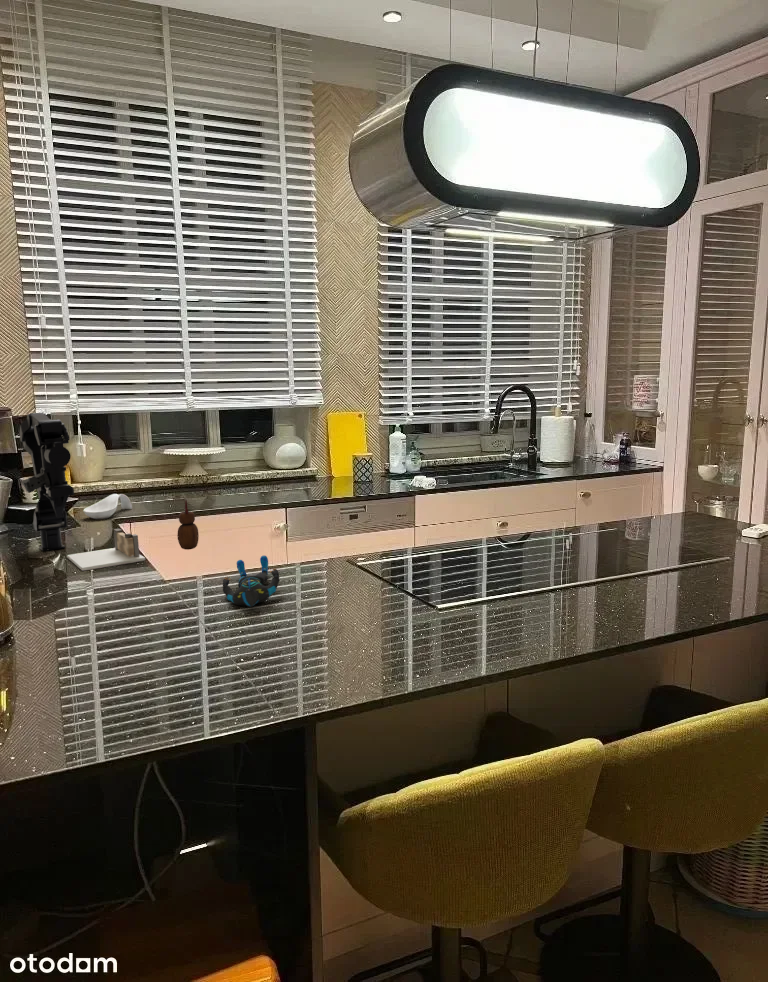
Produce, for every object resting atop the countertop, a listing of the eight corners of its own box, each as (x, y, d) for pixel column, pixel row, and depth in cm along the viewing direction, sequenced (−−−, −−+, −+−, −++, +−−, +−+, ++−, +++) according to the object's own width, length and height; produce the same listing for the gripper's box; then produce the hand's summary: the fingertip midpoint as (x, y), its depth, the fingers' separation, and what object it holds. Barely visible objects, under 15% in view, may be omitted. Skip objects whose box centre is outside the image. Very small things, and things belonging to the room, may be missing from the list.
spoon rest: (106, 521, 275) (104, 501, 274) (77, 520, 277) (75, 501, 276) (140, 509, 297) (138, 491, 296) (113, 509, 300) (111, 491, 299)
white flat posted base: (67, 557, 219) (64, 534, 218) (126, 548, 229) (124, 526, 227) (82, 570, 204) (79, 545, 202) (145, 560, 213) (143, 536, 212)
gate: (114, 547, 224) (113, 528, 223) (121, 546, 225) (119, 527, 224) (128, 556, 213) (126, 535, 212) (135, 555, 214) (133, 534, 213)
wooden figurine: (195, 550, 223) (192, 500, 220) (176, 551, 223) (172, 501, 220) (201, 545, 229) (198, 497, 227) (182, 546, 230) (179, 497, 227)
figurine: (277, 552, 192) (277, 579, 163) (281, 576, 193) (282, 606, 163) (225, 562, 190) (215, 590, 161) (229, 586, 191) (221, 618, 162)
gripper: (17, 464, 218) (23, 516, 221) (28, 469, 203) (34, 526, 205) (58, 460, 224) (63, 511, 227) (71, 465, 209) (77, 520, 212)
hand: (58, 517), depth 218 cm, fingers closed
